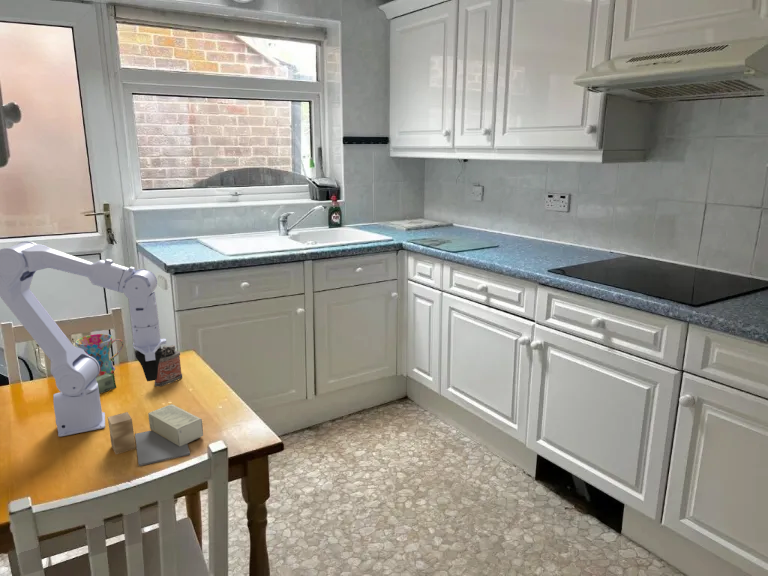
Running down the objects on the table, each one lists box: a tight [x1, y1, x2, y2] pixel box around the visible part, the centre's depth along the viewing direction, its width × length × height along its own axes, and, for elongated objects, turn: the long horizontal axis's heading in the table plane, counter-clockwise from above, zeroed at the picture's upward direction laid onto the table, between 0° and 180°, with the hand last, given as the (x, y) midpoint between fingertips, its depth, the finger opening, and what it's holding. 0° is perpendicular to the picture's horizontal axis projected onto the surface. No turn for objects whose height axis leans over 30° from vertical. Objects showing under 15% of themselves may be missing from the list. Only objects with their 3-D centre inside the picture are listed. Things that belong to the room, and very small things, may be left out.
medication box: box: [96, 373, 117, 395], centre depth 149 cm, size 12×3×4 cm, turn 146°
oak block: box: [107, 411, 137, 455], centre depth 122 cm, size 4×4×7 cm
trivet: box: [134, 430, 191, 467], centre depth 124 cm, size 10×14×1 cm
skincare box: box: [147, 404, 204, 446], centre depth 128 cm, size 6×4×12 cm
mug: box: [75, 333, 124, 377], centre depth 162 cm, size 12×9×11 cm
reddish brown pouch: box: [153, 344, 183, 387], centre depth 156 cm, size 8×3×10 cm, turn 144°
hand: (151, 379), depth 132 cm, fingers closed
